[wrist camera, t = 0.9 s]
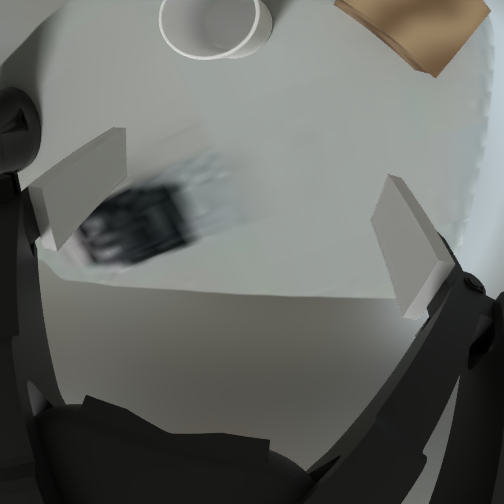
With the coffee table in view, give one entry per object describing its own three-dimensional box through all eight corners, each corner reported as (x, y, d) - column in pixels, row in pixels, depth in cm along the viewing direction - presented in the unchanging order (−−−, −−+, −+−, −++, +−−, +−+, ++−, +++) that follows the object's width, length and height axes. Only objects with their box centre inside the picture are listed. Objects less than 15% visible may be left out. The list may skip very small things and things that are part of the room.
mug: (262, -36, 22) (249, -72, 13) (311, 15, 26) (321, -2, 16) (182, 23, 27) (136, 17, 18) (228, 72, 31) (200, 83, 22)
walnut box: (330, 4, 24) (338, -5, 20) (387, -57, 17) (402, -72, 13) (415, 72, 27) (435, 77, 23) (465, 11, 20) (491, 10, 16)
